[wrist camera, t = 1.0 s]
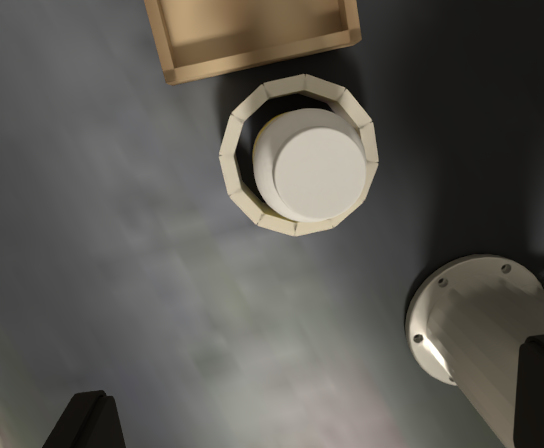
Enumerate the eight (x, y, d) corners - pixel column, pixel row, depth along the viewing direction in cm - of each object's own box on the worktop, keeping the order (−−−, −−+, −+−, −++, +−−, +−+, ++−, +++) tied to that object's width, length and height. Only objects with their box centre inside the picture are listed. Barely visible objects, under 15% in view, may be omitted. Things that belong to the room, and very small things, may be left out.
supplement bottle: (343, 183, 34) (397, 221, 21) (264, 204, 34) (274, 255, 21) (324, 100, 32) (371, 90, 20) (242, 123, 32) (237, 127, 20)
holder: (349, 67, 31) (364, 60, 28) (371, 205, 34) (386, 216, 30) (209, 98, 31) (203, 96, 28) (242, 233, 34) (241, 248, 30)
